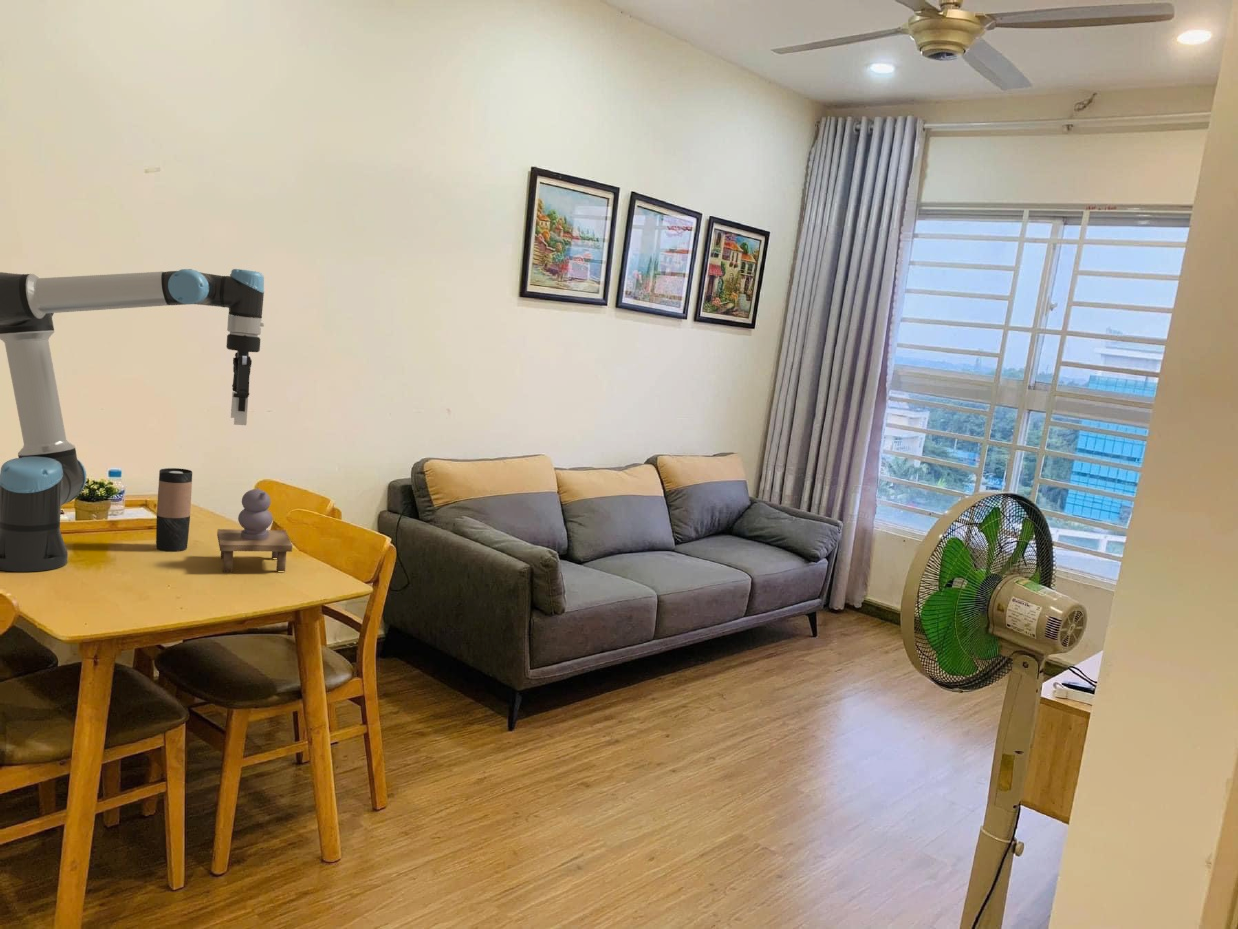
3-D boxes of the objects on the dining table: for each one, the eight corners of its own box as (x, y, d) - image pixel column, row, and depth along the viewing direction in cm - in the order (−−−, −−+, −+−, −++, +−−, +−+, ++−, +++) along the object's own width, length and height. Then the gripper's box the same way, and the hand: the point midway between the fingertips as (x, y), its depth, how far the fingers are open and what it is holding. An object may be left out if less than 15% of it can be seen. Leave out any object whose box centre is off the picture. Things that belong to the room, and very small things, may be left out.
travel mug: (194, 547, 235) (199, 470, 232) (177, 553, 227) (181, 474, 224) (166, 543, 235) (170, 467, 233) (148, 549, 228) (152, 470, 225)
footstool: (218, 573, 214) (220, 544, 213) (215, 556, 228) (217, 529, 228) (290, 573, 221) (292, 545, 221) (283, 556, 236) (285, 530, 235)
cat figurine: (233, 533, 225) (236, 485, 224) (266, 532, 230) (269, 486, 228) (242, 541, 218) (245, 492, 217) (275, 540, 223) (278, 492, 222)
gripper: (265, 338, 212) (258, 428, 214) (256, 334, 234) (250, 416, 236) (230, 334, 208) (224, 426, 211) (224, 330, 230) (219, 414, 233)
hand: (238, 421), depth 224 cm, fingers open, 13 cm apart
